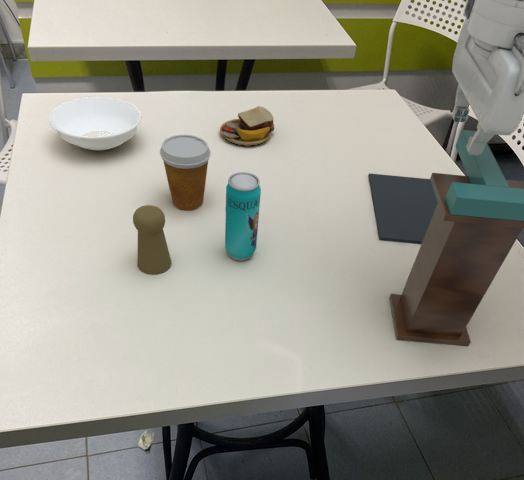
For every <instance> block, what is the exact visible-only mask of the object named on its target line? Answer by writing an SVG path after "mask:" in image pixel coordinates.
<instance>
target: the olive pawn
mask: <svg viewBox="0 0 524 480" xmlns="http://www.w3.org/2000/svg"><path fill="white" fill-rule="evenodd" d="M132 223H133V226H134V228H135V229H136V230H137V252H136V253H137V255H136V258H137V262H136V264H137V265H136V266H137V268H138V270H140V271H141V273H144V274H146V275H160V274H164V273H166V272H167V271H169V269H171V266H172V264H173V263H172V258H171V254H170V251H169V245H168V243H167V239H166V235H165V231H164V228H165V226H166V215H165V213H164V211H163V210H162V209H161V208H160V207H158V206H156V205H153V204H152V205H151V204H147V205H142V206H140V207H137V209H135V210H134V212H133V215H132Z"/></svg>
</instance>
